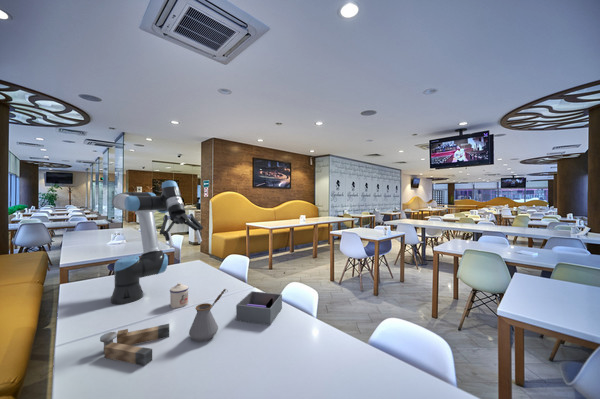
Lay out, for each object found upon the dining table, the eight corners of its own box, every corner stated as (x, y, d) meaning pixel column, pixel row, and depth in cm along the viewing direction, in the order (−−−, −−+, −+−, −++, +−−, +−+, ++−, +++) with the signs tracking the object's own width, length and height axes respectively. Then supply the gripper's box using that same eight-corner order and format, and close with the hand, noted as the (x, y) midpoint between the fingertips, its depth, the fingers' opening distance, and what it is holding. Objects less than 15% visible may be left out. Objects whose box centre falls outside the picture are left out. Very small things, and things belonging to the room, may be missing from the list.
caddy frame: (236, 320, 118) (236, 305, 118) (251, 304, 135) (251, 291, 135) (270, 325, 114) (270, 309, 114) (282, 308, 131) (282, 294, 131)
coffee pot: (205, 347, 98) (205, 309, 97) (182, 341, 102) (182, 305, 101) (236, 321, 118) (236, 289, 118) (216, 317, 122) (216, 286, 121)
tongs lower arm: (96, 356, 92) (95, 344, 92) (109, 348, 97) (109, 336, 97) (144, 366, 87) (144, 353, 87) (156, 356, 92) (156, 344, 92)
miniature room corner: (267, 321, 118) (267, 307, 118) (244, 319, 120) (244, 305, 120) (275, 310, 130) (275, 297, 129) (253, 308, 132) (253, 295, 132)
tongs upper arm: (98, 356, 92) (98, 340, 92) (102, 347, 98) (102, 332, 97) (168, 340, 102) (168, 326, 102) (169, 332, 108) (169, 319, 108)
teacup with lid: (182, 308, 130) (182, 286, 130) (166, 307, 131) (165, 285, 131) (194, 299, 142) (194, 279, 142) (179, 298, 143) (179, 278, 143)
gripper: (150, 203, 116) (160, 244, 108) (202, 202, 135) (213, 237, 127) (146, 212, 120) (155, 252, 112) (196, 210, 139) (207, 244, 131)
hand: (186, 244), depth 120 cm, fingers open, 13 cm apart
